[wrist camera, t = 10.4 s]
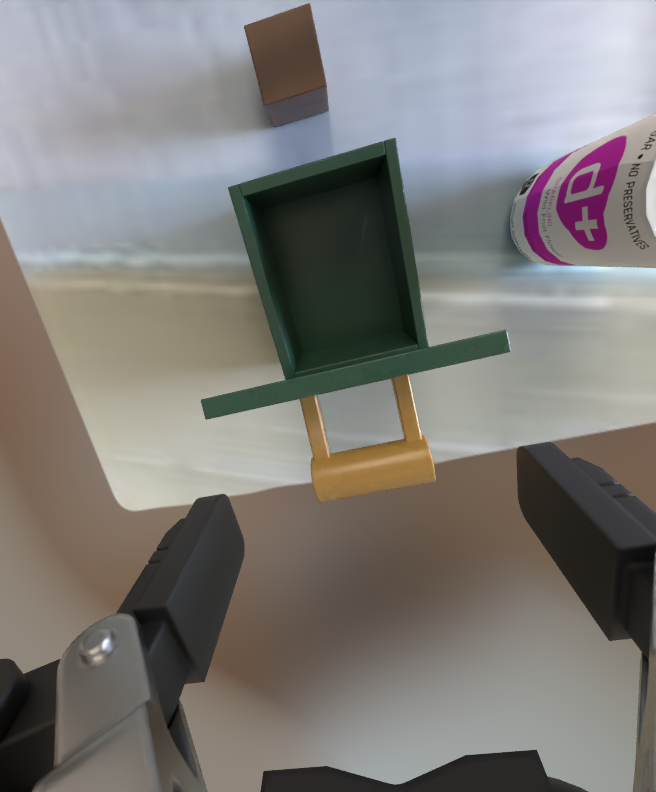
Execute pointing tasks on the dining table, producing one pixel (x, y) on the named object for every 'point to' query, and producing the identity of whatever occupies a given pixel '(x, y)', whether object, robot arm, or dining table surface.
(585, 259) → the supplement can
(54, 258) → the dining table surface
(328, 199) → the tea tin
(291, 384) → the tin lid
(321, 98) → the walnut block
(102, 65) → the dining table surface
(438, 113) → the dining table surface
